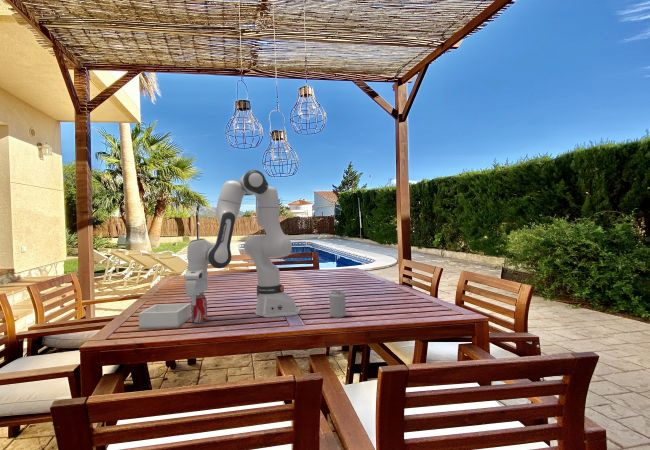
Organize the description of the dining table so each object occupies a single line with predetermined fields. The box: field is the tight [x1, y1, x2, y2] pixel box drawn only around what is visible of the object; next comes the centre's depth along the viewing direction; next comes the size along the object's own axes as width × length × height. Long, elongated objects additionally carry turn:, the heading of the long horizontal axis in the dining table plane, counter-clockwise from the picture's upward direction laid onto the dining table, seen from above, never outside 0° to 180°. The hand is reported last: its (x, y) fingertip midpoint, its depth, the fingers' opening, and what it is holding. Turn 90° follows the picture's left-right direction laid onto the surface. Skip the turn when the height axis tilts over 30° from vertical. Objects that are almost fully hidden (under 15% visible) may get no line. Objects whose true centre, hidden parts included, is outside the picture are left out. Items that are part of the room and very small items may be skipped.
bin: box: [138, 302, 192, 330], centre depth 174 cm, size 17×17×7 cm
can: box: [329, 289, 347, 319], centre depth 179 cm, size 8×8×12 cm
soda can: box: [190, 294, 208, 324], centre depth 175 cm, size 7×7×12 cm
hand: (197, 303), depth 175 cm, fingers open, 8 cm apart
